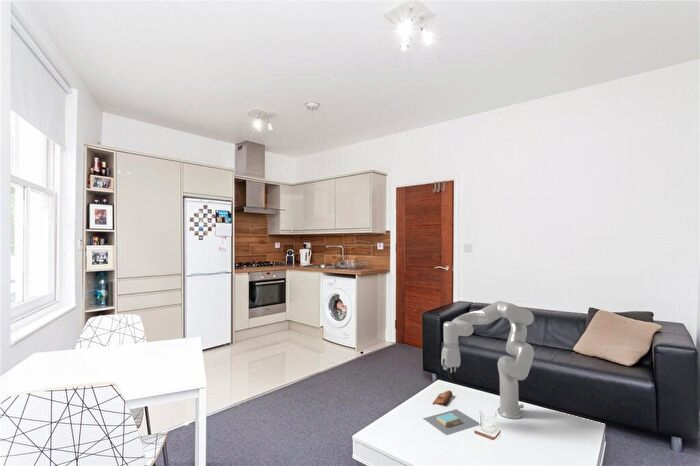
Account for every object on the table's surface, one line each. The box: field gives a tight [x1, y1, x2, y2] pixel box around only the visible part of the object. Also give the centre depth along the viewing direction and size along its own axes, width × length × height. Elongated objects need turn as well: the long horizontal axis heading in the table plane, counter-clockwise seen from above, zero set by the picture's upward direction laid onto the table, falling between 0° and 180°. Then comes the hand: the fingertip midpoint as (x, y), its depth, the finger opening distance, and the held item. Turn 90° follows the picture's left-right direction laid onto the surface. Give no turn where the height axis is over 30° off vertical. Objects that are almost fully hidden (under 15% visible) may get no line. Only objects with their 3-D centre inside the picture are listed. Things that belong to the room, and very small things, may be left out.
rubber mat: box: [422, 408, 480, 436], centre depth 189 cm, size 24×19×1 cm
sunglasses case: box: [432, 390, 453, 407], centre depth 216 cm, size 18×7×7 cm, turn 152°
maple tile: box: [437, 413, 460, 427], centre depth 188 cm, size 3×7×10 cm
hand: (451, 379), depth 190 cm, fingers closed
